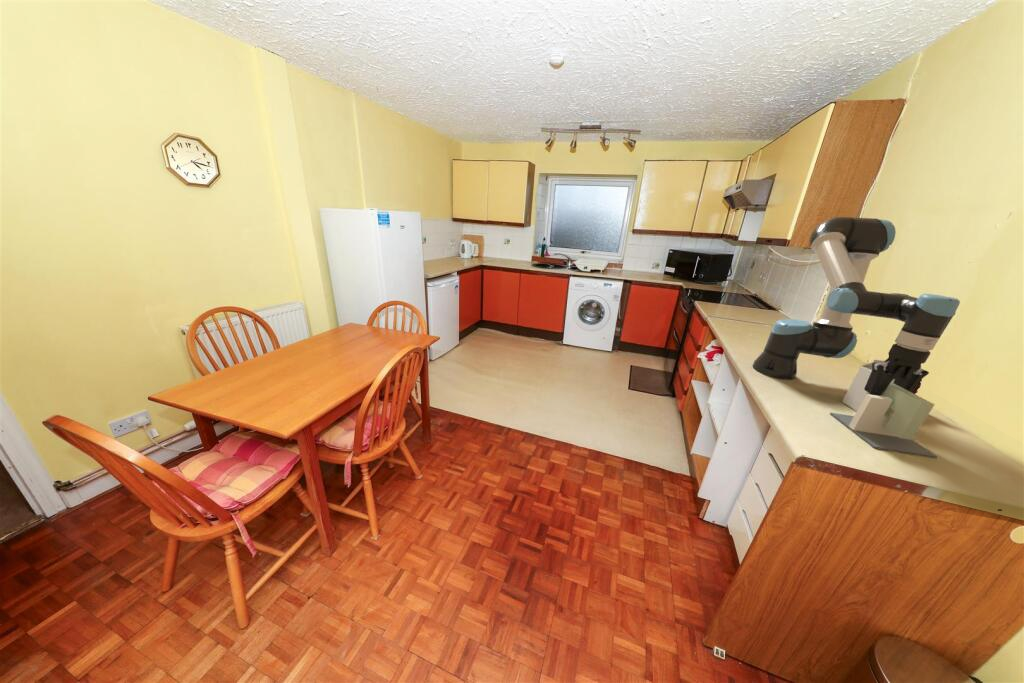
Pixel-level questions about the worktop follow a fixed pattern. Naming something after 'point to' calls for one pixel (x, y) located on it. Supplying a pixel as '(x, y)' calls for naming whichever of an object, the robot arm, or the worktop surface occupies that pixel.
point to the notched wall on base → (879, 427)
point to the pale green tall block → (905, 411)
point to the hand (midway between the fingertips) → (874, 413)
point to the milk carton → (859, 386)
